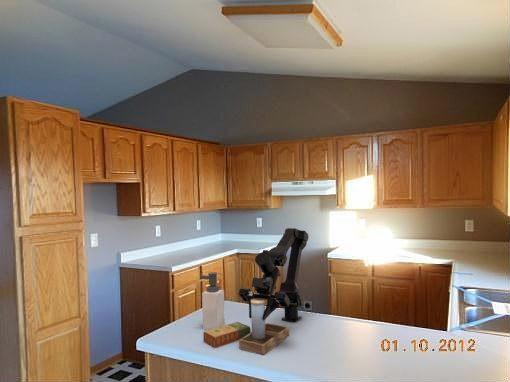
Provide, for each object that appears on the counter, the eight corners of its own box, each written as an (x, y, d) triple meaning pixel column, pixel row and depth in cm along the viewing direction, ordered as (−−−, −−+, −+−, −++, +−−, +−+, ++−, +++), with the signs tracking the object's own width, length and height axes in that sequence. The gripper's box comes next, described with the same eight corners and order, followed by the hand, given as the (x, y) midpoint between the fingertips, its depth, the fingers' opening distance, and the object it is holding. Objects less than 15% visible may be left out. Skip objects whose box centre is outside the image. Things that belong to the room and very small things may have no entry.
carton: (203, 342, 137) (202, 330, 137) (238, 331, 147) (237, 320, 147) (215, 349, 130) (215, 337, 130) (251, 337, 140) (250, 325, 140)
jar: (260, 332, 135) (259, 297, 134) (268, 336, 130) (267, 300, 130) (249, 335, 132) (248, 299, 132) (256, 340, 128) (255, 303, 128)
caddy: (266, 330, 146) (266, 322, 146) (289, 335, 140) (288, 327, 140) (239, 349, 129) (238, 340, 129) (264, 355, 124) (263, 345, 124)
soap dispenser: (206, 322, 156) (204, 270, 156) (224, 325, 153) (223, 271, 153) (197, 328, 150) (196, 273, 150) (217, 330, 147) (215, 275, 147)
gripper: (239, 266, 139) (224, 304, 129) (285, 270, 130) (273, 311, 120) (250, 282, 146) (236, 319, 136) (294, 286, 137) (283, 326, 128)
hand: (256, 318), depth 130 cm, fingers closed on jar, 5 cm apart
